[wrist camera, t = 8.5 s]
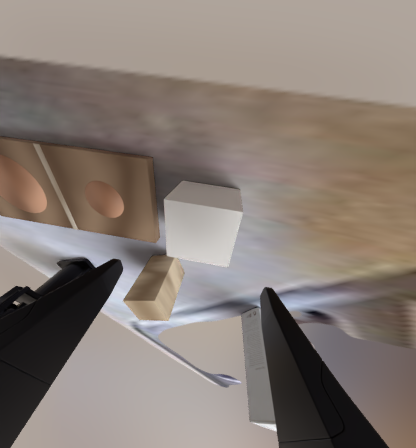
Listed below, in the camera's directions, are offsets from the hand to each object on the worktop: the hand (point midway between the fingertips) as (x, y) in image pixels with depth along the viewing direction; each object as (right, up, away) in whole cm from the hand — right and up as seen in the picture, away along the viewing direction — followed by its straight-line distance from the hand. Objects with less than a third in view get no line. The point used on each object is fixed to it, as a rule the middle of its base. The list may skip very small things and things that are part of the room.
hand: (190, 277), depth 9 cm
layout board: (-16, +7, +9) cm, 19 cm away
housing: (+1, +5, +8) cm, 9 cm away
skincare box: (+11, -13, +18) cm, 25 cm away
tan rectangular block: (-5, -3, +14) cm, 15 cm away
